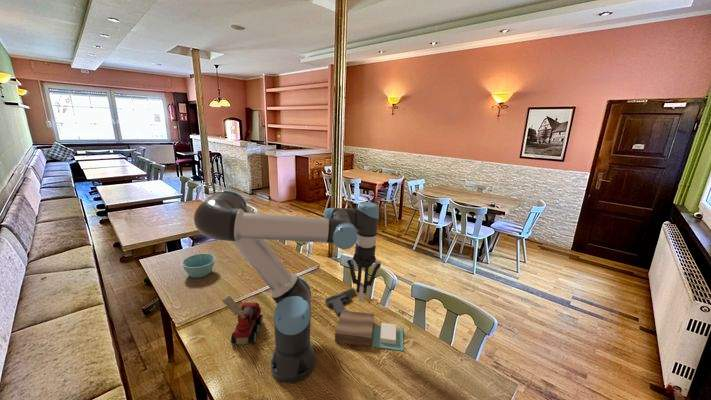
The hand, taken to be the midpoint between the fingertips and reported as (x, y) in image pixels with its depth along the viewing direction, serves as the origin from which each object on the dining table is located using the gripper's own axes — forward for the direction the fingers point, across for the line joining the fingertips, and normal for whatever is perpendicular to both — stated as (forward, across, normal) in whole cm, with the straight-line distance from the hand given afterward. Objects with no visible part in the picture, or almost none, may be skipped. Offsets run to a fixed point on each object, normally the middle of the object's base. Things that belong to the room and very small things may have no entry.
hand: (360, 299), depth 112 cm
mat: (+15, -12, +1) cm, 19 cm away
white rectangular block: (+13, -12, 0) cm, 18 cm away
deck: (+15, +1, 0) cm, 15 cm away
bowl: (+18, +89, -28) cm, 95 cm away
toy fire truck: (+17, +44, +8) cm, 48 cm away
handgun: (+16, +8, -18) cm, 26 cm away
